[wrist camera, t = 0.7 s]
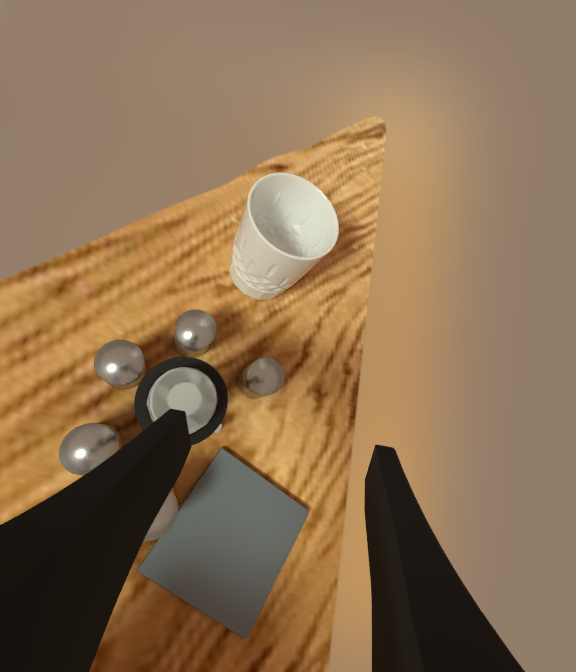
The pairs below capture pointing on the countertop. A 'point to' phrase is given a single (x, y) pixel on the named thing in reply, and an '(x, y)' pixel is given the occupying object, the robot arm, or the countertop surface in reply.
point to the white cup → (281, 235)
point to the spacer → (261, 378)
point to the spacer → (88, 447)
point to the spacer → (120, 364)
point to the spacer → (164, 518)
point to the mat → (227, 543)
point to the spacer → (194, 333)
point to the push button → (183, 395)
